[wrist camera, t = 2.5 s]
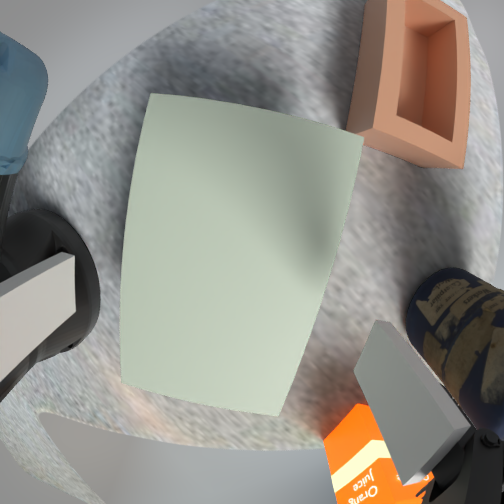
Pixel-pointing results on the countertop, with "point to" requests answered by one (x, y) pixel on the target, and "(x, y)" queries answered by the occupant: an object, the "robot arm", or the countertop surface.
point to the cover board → (229, 249)
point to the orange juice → (366, 464)
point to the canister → (463, 341)
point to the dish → (413, 82)
